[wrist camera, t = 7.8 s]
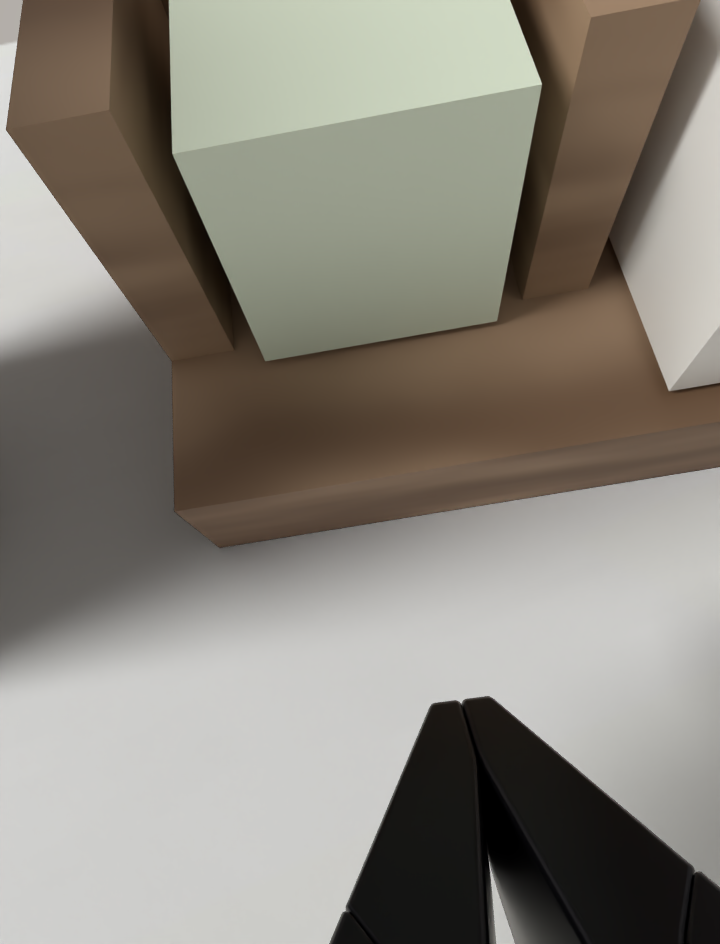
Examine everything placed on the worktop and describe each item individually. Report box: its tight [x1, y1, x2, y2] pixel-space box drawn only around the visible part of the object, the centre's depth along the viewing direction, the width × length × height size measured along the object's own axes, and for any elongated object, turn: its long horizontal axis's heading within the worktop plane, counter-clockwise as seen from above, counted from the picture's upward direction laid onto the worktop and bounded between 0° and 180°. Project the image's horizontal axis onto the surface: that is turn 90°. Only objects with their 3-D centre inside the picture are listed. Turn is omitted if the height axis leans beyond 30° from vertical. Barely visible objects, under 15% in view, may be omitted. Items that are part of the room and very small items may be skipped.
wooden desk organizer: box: [6, 0, 720, 548], centre depth 17 cm, size 15×24×13 cm, turn 98°
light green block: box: [169, 0, 542, 361], centre depth 16 cm, size 6×7×7 cm
